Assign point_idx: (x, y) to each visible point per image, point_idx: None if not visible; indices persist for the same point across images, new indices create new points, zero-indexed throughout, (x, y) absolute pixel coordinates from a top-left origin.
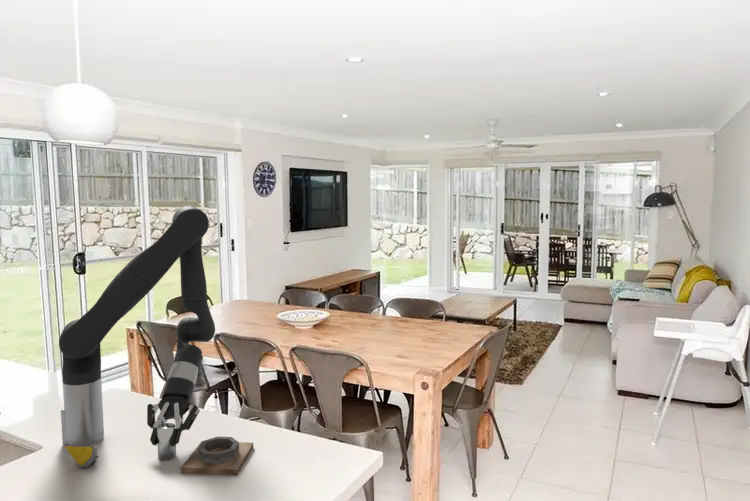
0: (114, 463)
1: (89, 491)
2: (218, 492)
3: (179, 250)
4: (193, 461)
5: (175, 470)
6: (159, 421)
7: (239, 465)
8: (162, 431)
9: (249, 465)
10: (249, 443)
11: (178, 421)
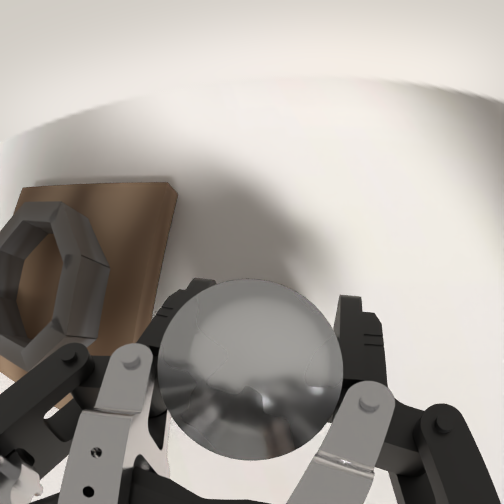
0: (495, 282)
1: (454, 100)
2: (81, 117)
3: None
4: (123, 231)
5: (203, 215)
6: (336, 442)
7: (15, 210)
8: (258, 279)
9: None
10: None
11: (111, 396)
